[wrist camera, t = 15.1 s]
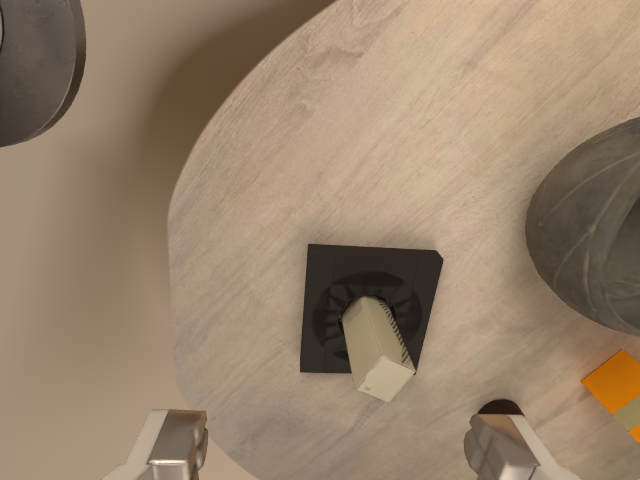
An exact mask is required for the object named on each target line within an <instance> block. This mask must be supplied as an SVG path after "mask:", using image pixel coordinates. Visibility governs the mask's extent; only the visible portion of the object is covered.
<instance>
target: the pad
mask: <svg viewBox="0 0 640 480" xmlns="http://www.w3.org/2000/svg"><path fill="white" fill-rule="evenodd" d="M442 264H443V258H442V257H441V256H440V255H439V253H438V252H437V251H436V250H416V249H398V248H378V247H358V246H338V245H318V244H308V253H307V268H306V282H305V297H304V311H303V326H302V340H301V355H300V372H308V373H352V371H351V366H350V361H349V355H348V350H347V345H346V339H345V334H344V329H343V324H342V323H341V322H340V321H339V319H338V315H339V312H340V310H341V309H342V307H343V306H344V305H345V304H346V303H347V302H349V301H350V300H351V299H353V298H355V297H358V296H362V295H365V294H368V295H379V296H381V297H383V298H386V299H387V300H388V301H389V302H390V303H391V304H392V308H391V313H392V315H393V318H394V320H395V323H396V325H397V327H398V330H399V332H400V335H401V337H402V339H403V342H404V344H405V347H406V349H407V351H408V354H409V356H410V358H411V361H412V363H413V366H414V368H415V370H417V366H418V362H419V358H420V354H421V350H422V346H423V342H424V338H425V333H426V329H427V325H428V321H429V317H430V313H431V309H432V305H433V301H434V296H435V292H436V288H437V284H438V280H439V276H440V272H441V268H442ZM415 374H416V371H415V373H414V374H413V375H415Z"/></svg>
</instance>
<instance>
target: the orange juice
mask: <svg viewBox="0 0 640 480" xmlns="http://www.w3.org/2000/svg"><path fill="white" fill-rule="evenodd" d="M581 382H582V383H583V384H584V385H585V386H586V387H587V389H588V390H589V391H590V392H591V393H592V394H593V395H594V396H595V397H596V398H597V399H598V400H599V401H600V402H601V403H602V404H603V405H604V406H605V408H606V409H607V410H608V411H609V412H610V413H611V414H612V415H613V416H614V418H615V419H616V420H617V421H618V422H619V423H620V424H621V425H622V426H623V427H624V428H625V429H626V430H627V431H628V432H629V433H630V434H631V435H632V436H633V437H634V438H635V439H636V440H637V441H638V442H639V443H640V363H639V362H638V361H636V360H635V359H634V358H632V357H631V356H630V355H628V354H627V353H626V352H625V351H623V350H621V351H619V352H618V353H617V354H615V355H614V356H613V357H612V358H610V359H609V360H608V361H606V362H605V363H604V364H603V365H601V366H600V367H599V368H597V369H596V370H595V371H593V372H592V373H591V374H590V375H588V376H587V377H586V378H584V379H583V380H582V381H581Z"/></svg>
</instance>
